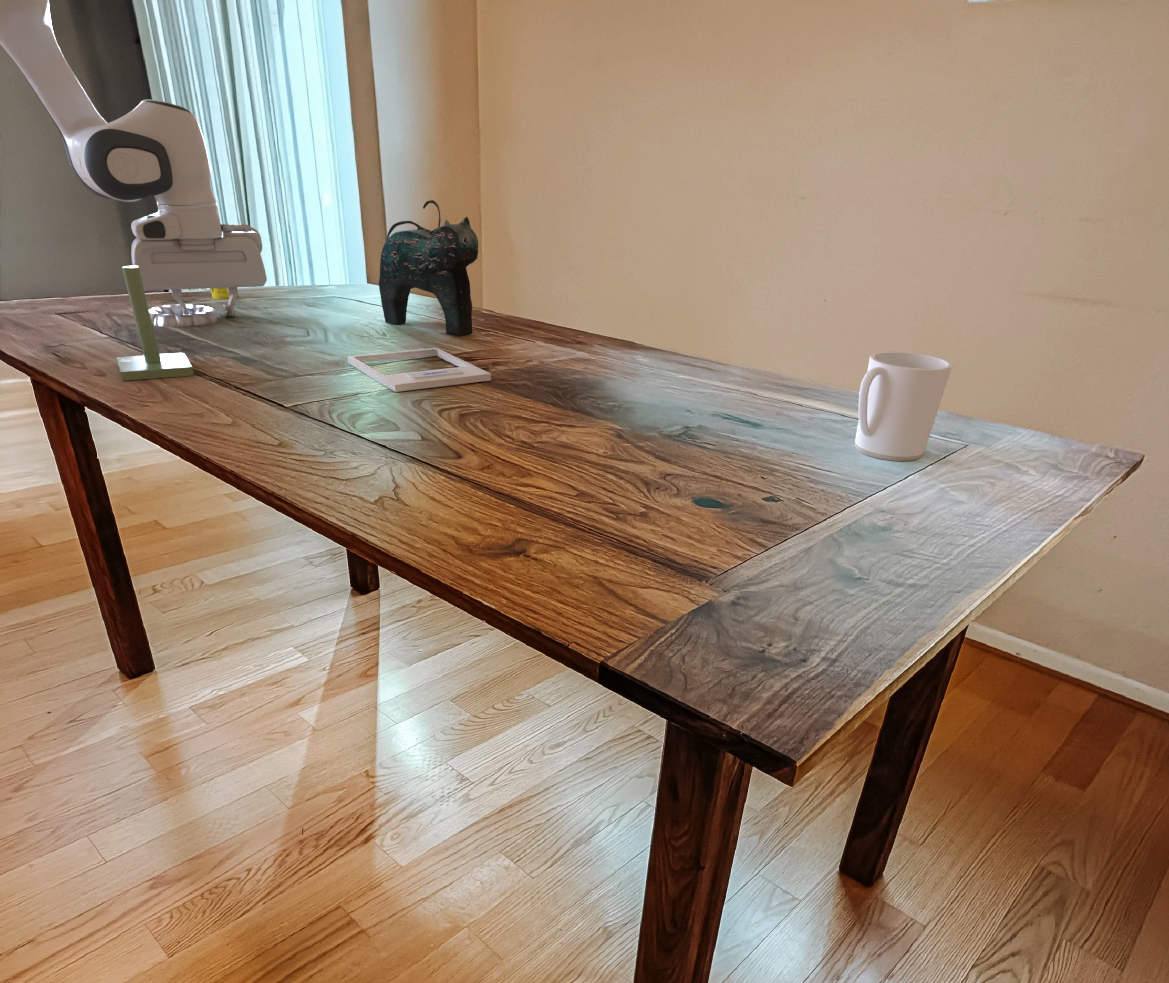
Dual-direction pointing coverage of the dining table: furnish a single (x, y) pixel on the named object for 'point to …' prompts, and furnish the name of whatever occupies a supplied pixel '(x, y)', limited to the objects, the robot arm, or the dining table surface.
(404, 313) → the ceramic cat
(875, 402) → the mug
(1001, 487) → the dining table surface
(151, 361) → the stand
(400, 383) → the photo frame
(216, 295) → the supplement bottle
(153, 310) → the ring
